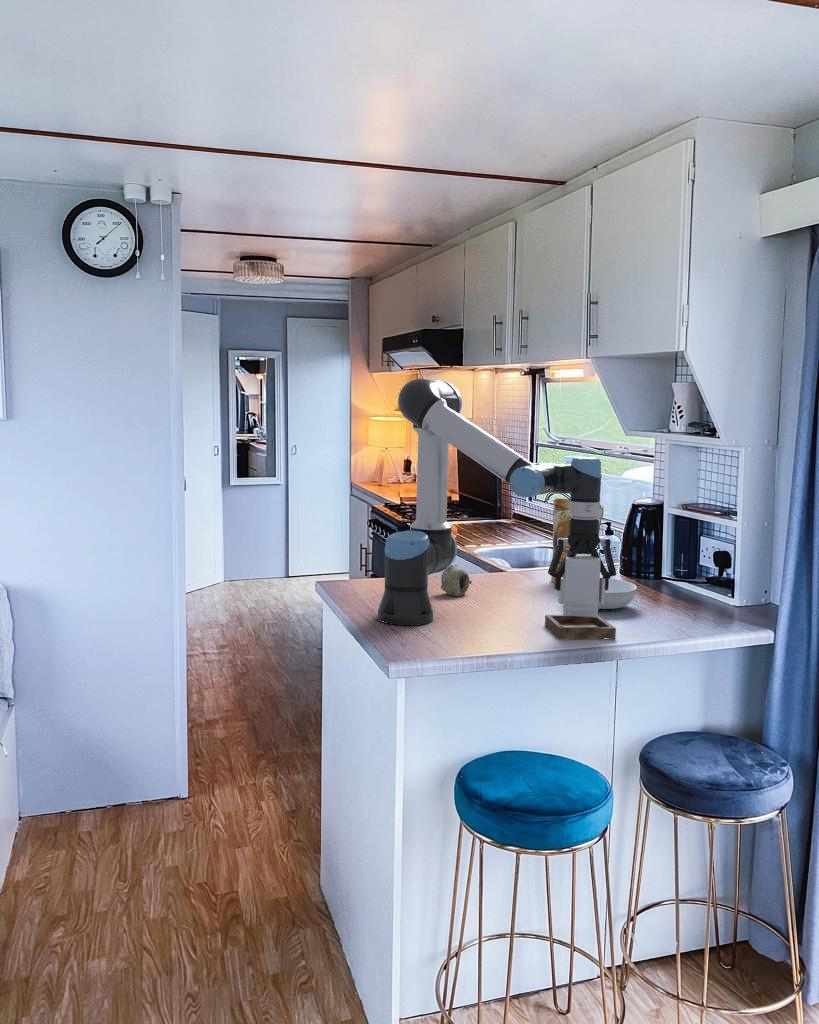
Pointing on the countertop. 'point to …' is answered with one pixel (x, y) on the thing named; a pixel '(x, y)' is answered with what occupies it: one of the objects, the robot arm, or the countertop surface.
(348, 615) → the countertop surface
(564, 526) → the pancake mix bag
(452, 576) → the greenish lumpy pot
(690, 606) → the countertop surface
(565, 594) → the supplement box
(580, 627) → the brown wooden tray
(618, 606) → the serving bowl
